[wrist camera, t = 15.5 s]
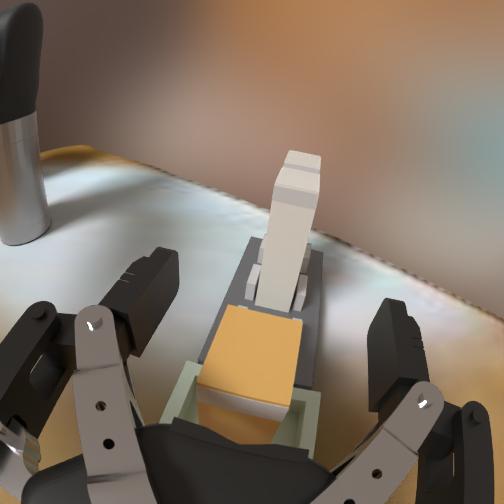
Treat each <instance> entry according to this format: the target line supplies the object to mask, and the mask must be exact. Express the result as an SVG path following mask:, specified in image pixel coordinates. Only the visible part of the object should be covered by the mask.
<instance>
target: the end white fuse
mask: <svg viewBox="0 0 504 504" xmlns="http://www.w3.org/2000/svg"><path fill="white" fill-rule="evenodd" d="M320 162H321V156H317V155H311V154H307V153H302V152H298V151H293V150H289V152H288V155H287V157H286V159H285V162H284V167H287V168H292V169H296V170H301V171H306V172H311V173H315V174H319V172H320Z"/></svg>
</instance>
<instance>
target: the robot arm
mask: <svg viewBox="0 0 504 504" xmlns="http://www.w3.org/2000/svg"><path fill="white" fill-rule="evenodd" d="M42 38H43V18H42V14H41V11H40V9H39V8H38V6H37V5H35V4H34V3H23V4H19V5H16V6H14V7H11V8H9V9H6V10H4V11H1V12H0V238H1V241H2V242H3V243H4V244H7V245H19V244H23V243H27V242H29V241H32V240H34V239H35V238H37V237H39V236H40V235H42V234H43V233H44V232H45V231H46V230H47V229H48V228H49V226H50V224H51V218H50V213H49V209H48V204H47V198H46V192H45V187H44V180H43V174H42V167H41V160H40V152H39V142H38V132H37V119H36V97H37V92H38V85H39V68H40V57H41V48H42ZM178 288H179V260H178V252H177V251H175V250H171V249H167V248H162V247H157V248H156V249H155V251H154V252H153V253H152V254H151V255H150V257H145V256H143V257H142V258H140V259H138V260H136V261H135V262H133V263H132V264H131V265H130V267H129V268H128V269H127V270H126V272H125V273H124V274H123V275H122V276H121V277H120V280H118V281H117V282H116V283H115V285H114V286H113V287H112V288H111V289H110V291H109V292H108V293H107V294H106V296H105V297H104V298H103V299H102V301H101V302H100V303H99V304H98V305H92V306H88V307H86V308H84V309H83V310H81V311H80V312H79V313H78V315H77V314H63V313H57V310H56V308H55V306H54V305H53V304H52V303H50V302H47V301H40V302H37V303H34V304H33V305H31V306H30V307H29V308H28V309H27V310H26V311H25V312H24V314H23V315H22V316H21V317H20V319H19V320H18V321H17V322H16V324H15V325H14V326H13V328H12V329H11V330H10V332H9V333H8V334H7V336H6V337H5V338H4V340H3V341H2V342H1V344H0V486H1V487H2V488H3V489H5V490H6V491H7V492H9V493H10V494H11V495H12V496H14V497H15V498H16V499H18V500H19V501H21V504H384V503H385V502H386V501H387V500H388V499H389V497H390V496H391V495H392V494H393V492H394V491H395V490H396V489H397V487H398V486H399V485H400V483H401V482H402V481H403V479H404V478H405V477H406V475H407V474H408V473H409V471H410V470H411V468H412V467H413V466H414V464H415V463H416V461H417V459H418V478H417V491H416V501H415V504H494V462H493V448H492V437H491V428H490V421H489V415H488V412H487V410H486V409H485V407H484V406H483V405H482V404H480V403H479V402H476V401H470V402H467V403H466V404H465V405H464V406H463V407H462V408H460V407H458V406H456V405H453V404H451V403H448V402H446V401H444V398H443V395H442V393H441V391H440V390H439V389H438V388H437V387H436V386H435V385H434V384H432V383H430V380H429V374H428V368H427V362H426V357H425V351H424V350H423V348H424V346H423V341H421V340H422V337H421V332H420V327H419V326H418V324H417V323H416V321H415V319H414V318H413V317H411V316H408V314H407V310H406V305H405V302H404V301H399V300H395V299H390V298H385V299H384V300H383V302H382V304H381V306H380V308H379V310H378V312H377V313H376V315H375V317H374V319H373V321H372V323H371V325H370V327H369V330H368V335H367V350H368V385H369V412H378V422H377V423H376V424H375V425H374V427H373V428H372V429H371V430H370V431H369V432H368V433H367V435H366V436H365V437H364V438H363V439H362V440H361V441H360V442H359V443H358V444H357V446H356V447H355V448H354V449H353V450H352V451H351V452H350V453H349V454H348V455H347V456H346V457H345V458H344V459H343V460H341V461H340V462H339V463H338V464H337V465H336V466H335V467H334V468H332V469H331V470H330V471H329V470H328V469H327V468H326V467H324V466H323V465H321V464H320V463H319V462H317V461H315V460H313V459H311V458H308V455H309V449H302V448H296V447H290V446H284V445H279V444H238V443H235V442H233V441H231V440H229V439H227V438H226V437H224V436H222V435H220V434H218V433H216V432H215V431H213V430H211V429H209V428H207V427H205V426H202V425H198V424H195V423H192V422H189V421H186V420H183V419H180V418H177V417H174V418H173V420H172V423H171V424H168V423H157V424H150V425H145V424H144V420H143V417H142V414H141V412H140V409H139V406H138V402H137V399H136V395H135V391H134V387H133V382H132V378H131V374H130V369H129V365H128V361H127V358H128V357H129V355H130V354H131V355H134V356H136V357H139V358H140V356H141V354H142V353H143V351H144V349H145V347H146V346H147V344H148V342H149V341H150V339H151V337H152V335H153V334H154V332H155V330H156V329H157V327H158V325H159V323H160V322H161V320H162V318H163V317H164V315H165V313H166V312H167V310H168V308H169V307H170V305H171V303H172V302H173V300H174V298H175V297H176V295H177V292H178ZM41 355H42V357H41V358H40V356H41ZM39 358H40V360H39V361H38V359H39ZM37 361H38V363H37V364H36V362H37ZM35 364H36V366H35V368H34V369H33V367H34V365H35ZM32 369H33V371H32V372H31V370H32ZM74 370H77V371H74ZM30 372H31V374H30ZM71 376H72V382H73V392H74V401H75V409H76V416H77V423H78V429H79V435H80V441H81V446H82V451H83V454H80V455H78V456H76V457H73V458H71V459H68V460H66V461H64V462H61V463H59V464H56V465H54V466H51V467H49V468H46V469H43V470H41V471H39V469H38V463H39V462H40V460H41V454H40V445H39V442H38V440H37V439H38V437H39V435H40V433H41V431H42V429H43V427H44V425H45V423H46V422H47V420H48V418H49V416H50V414H51V412H52V410H53V408H54V406H55V404H56V402H57V401H58V399H59V397H60V395H61V393H62V391H63V390H64V388H65V386H66V384H67V383H68V381H69V379H70V377H71ZM417 452H418V453H419V455H418V454H417ZM453 453H454V477H453ZM418 457H419V458H418Z"/></svg>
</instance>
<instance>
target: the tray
mask: <svg viewBox="0 0 504 504" xmlns="http://www.w3.org/2000/svg"><path fill="white" fill-rule="evenodd" d="M202 366H203V365H201V364H197V363H194V362H190V361H186V363H185V366H184V368H183V370H182V372H181V374H180V377H179V379H178V381H177V383H176V385H175V388H174V390H173V392H172V394H171V396H170V399H169V401H168V403H167V405H166V408H165V410H164V412H163V414H162V416H161V419H160V421H159V423H168V424H171V423H172V420H173V418H174V417H177V418H180V419H183V420H186V421H189V422H192V423H195V424H198V425H199V419H198V405H197V400H196V386H195V385H196V381H197V378H198V376H199V373H200V371H201V369H202ZM320 399H321V392H316V391H311V390H305V389H300V388H295V387H293V390H292V396H291V402H290V406H289V409H288V411H287V413H286V415H285V417H284V419H283V421H282V422H281V423H280V425H279V427H278V429H277V431H276V433H275V435H274V437H273V438H272V440H271V442H270V444H279V445H284V446H290V447H296V448H302V449H309V455H308V458H311V459H313V455H314V448H315V441H316V433H317V425H318V417H319V408H320Z"/></svg>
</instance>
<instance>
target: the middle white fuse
mask: <svg viewBox="0 0 504 504" xmlns="http://www.w3.org/2000/svg"><path fill="white" fill-rule="evenodd" d="M319 188H320V174H315V173H311V172H306V171H301V170H296V169H292V168H287V167H282V168H281V171H280V173H279V175H278V177H277V180H276V182H275V185H274V191H273V197H272V205H271V211H270V217H269V223H268V229H267V236H266V242H265V248H264V254H263V260H262V265H261V271H260V277H259V283H258V289H257V295H256V301H255V305H257V306H261V307H266V308H270V309H274V310H279V311H283V312H288V313H289V309H290V306H291V302H292V299H293V295H294V291H295V288H296V284H297V280H298V276H299V273H300V269H301V265H302V261H303V257H304V253H305V249H306V245H307V242H308V237H309V233H310V229H311V225H312V221H313V217H314V213H315V210H316V206H317V201H318V197H319Z"/></svg>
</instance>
